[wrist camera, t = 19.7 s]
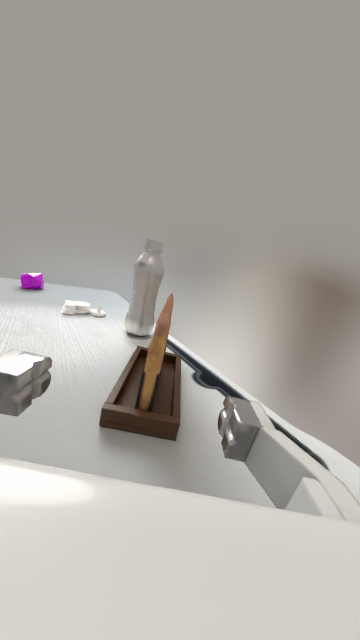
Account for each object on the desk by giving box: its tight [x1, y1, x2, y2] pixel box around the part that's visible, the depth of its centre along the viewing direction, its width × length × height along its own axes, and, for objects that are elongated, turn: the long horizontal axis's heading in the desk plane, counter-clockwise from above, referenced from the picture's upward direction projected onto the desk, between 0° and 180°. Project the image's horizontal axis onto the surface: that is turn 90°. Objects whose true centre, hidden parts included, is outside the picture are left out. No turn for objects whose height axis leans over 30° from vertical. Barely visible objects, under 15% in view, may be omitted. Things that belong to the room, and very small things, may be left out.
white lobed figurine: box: [62, 300, 106, 317], centre depth 46 cm, size 9×9×2 cm
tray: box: [99, 346, 181, 440], centre depth 25 cm, size 15×8×2 cm, turn 179°
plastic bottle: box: [125, 239, 164, 336], centre depth 39 cm, size 6×7×20 cm
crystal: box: [21, 273, 44, 289], centre depth 56 cm, size 5×5×5 cm
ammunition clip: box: [134, 294, 173, 412], centre depth 23 cm, size 11×2×12 cm, turn 179°
